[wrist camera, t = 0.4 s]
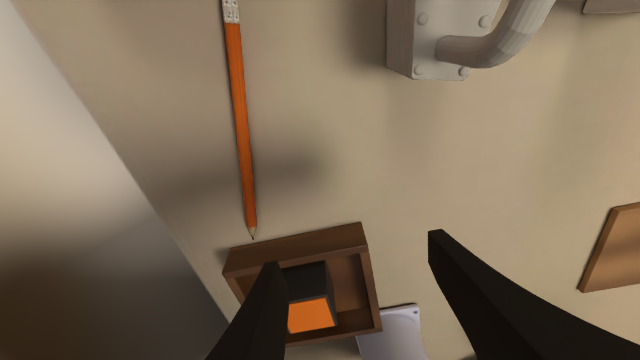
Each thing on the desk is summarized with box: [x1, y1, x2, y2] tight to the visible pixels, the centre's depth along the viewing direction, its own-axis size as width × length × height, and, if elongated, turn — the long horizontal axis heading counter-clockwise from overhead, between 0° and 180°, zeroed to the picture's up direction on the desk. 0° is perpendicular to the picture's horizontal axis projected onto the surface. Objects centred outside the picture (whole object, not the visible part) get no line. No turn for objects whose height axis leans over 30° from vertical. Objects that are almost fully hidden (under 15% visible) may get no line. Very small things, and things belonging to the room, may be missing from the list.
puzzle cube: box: [281, 260, 337, 334], centre depth 24 cm, size 4×4×4 cm
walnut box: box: [222, 222, 383, 348], centre depth 26 cm, size 13×13×3 cm
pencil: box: [222, 0, 257, 240], centre depth 19 cm, size 1×19×1 cm, turn 177°
